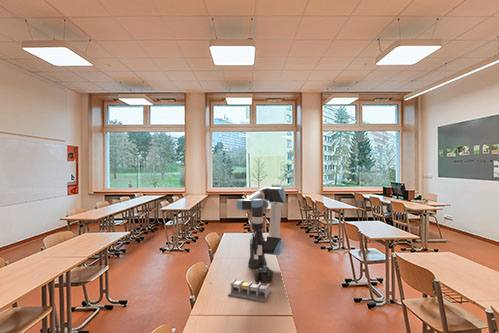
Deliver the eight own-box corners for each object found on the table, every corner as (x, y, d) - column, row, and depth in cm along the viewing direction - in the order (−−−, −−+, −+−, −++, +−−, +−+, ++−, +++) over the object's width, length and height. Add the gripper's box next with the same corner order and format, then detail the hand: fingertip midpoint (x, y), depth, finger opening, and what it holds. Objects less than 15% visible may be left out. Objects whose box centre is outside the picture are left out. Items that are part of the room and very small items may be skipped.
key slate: (261, 288, 163) (261, 285, 163) (267, 289, 162) (267, 286, 162) (259, 291, 160) (259, 288, 160) (265, 292, 158) (265, 289, 158)
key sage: (252, 287, 165) (252, 283, 165) (258, 288, 164) (258, 284, 164) (250, 289, 162) (250, 286, 162) (256, 291, 160) (256, 287, 160)
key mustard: (243, 285, 168) (243, 282, 168) (249, 286, 166) (249, 283, 166) (241, 288, 164) (241, 285, 164) (247, 289, 163) (247, 286, 162)
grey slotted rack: (237, 285, 175) (237, 276, 175) (271, 291, 166) (271, 281, 166) (228, 295, 162) (228, 285, 162) (264, 302, 153) (264, 291, 153)
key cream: (235, 284, 170) (235, 280, 170) (241, 285, 168) (241, 281, 168) (233, 286, 166) (233, 283, 166) (238, 287, 165) (238, 284, 165)
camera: (256, 285, 175) (256, 270, 175) (253, 278, 185) (253, 264, 185) (275, 282, 178) (275, 268, 178) (271, 276, 188) (271, 263, 188)
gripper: (257, 218, 181) (257, 251, 181) (246, 225, 162) (247, 261, 162) (267, 219, 178) (268, 252, 178) (257, 226, 159) (258, 263, 159)
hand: (258, 256), depth 170 cm, fingers open, 7 cm apart
